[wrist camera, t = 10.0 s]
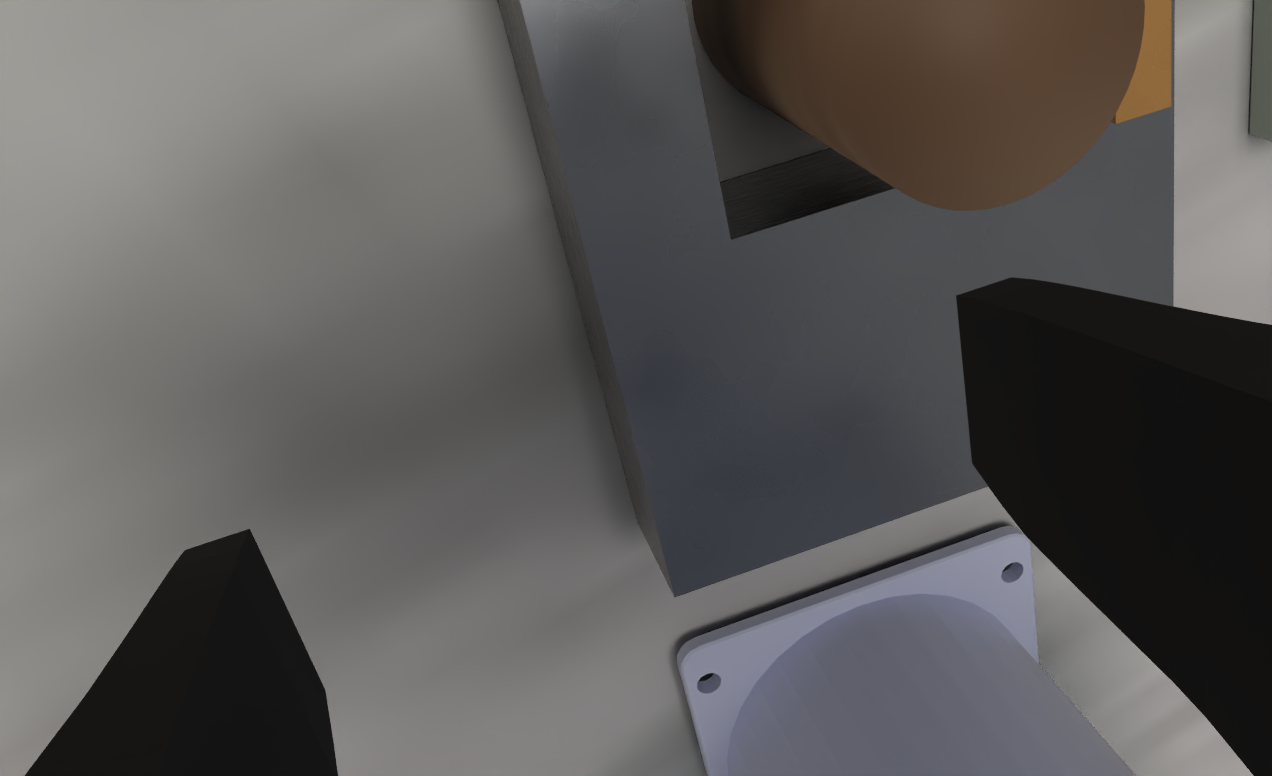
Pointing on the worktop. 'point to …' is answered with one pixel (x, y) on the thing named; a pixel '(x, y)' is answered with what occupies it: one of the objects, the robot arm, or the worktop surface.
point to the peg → (936, 84)
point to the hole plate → (796, 288)
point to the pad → (1262, 71)
